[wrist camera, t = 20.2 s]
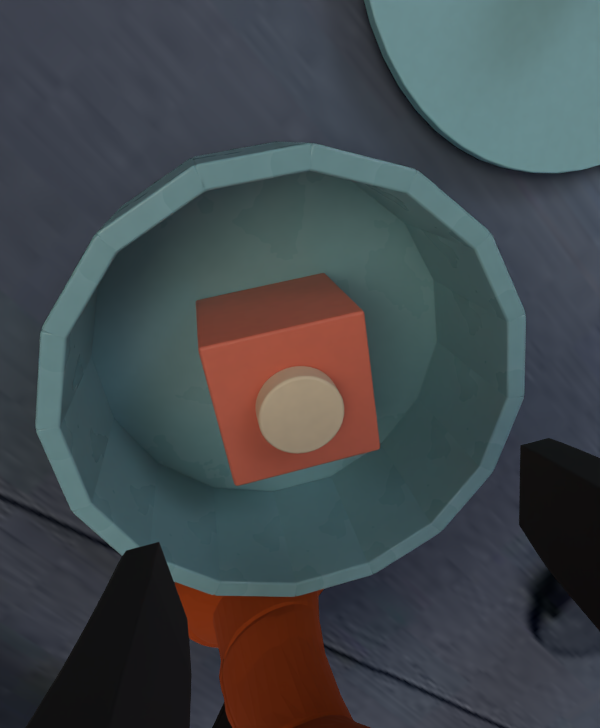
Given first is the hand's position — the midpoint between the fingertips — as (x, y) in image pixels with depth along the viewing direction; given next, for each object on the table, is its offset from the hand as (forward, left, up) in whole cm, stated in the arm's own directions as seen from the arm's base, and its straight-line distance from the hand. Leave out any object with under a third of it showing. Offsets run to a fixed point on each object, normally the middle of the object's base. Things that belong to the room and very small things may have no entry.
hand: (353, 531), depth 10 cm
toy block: (0, 0, -10) cm, 10 cm away
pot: (0, 0, -10) cm, 10 cm away
